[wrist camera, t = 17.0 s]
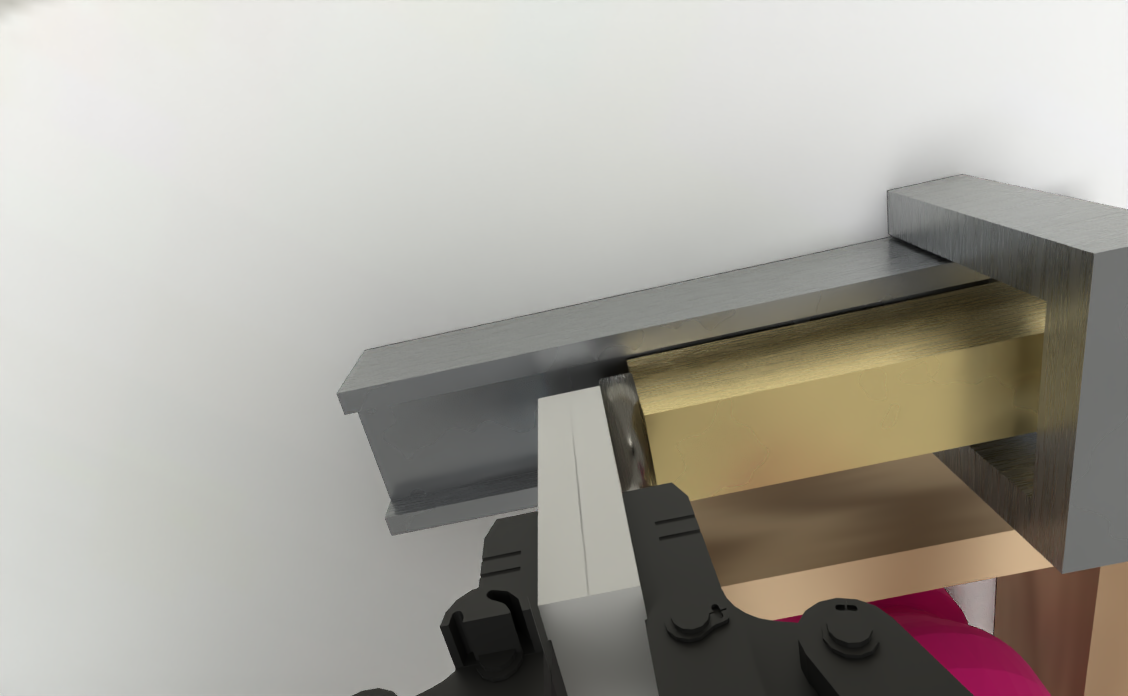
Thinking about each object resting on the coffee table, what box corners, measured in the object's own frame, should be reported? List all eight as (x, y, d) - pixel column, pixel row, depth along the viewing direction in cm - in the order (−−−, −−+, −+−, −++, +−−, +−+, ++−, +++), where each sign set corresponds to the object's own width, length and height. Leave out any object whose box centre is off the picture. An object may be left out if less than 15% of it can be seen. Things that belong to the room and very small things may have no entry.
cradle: (698, 772, 26) (725, 887, 22) (645, 506, 21) (669, 597, 17) (1028, 712, 25) (1112, 819, 22) (1052, 424, 20) (1166, 500, 17)
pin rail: (422, 511, 21) (370, 705, 14) (349, 308, 18) (245, 432, 12) (1056, 382, 20) (1307, 527, 13) (1076, 149, 17) (1399, 189, 11)
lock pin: (613, 452, 18) (628, 520, 15) (594, 359, 17) (605, 414, 14) (1015, 369, 17) (1107, 425, 14) (1021, 269, 16) (1121, 308, 13)
